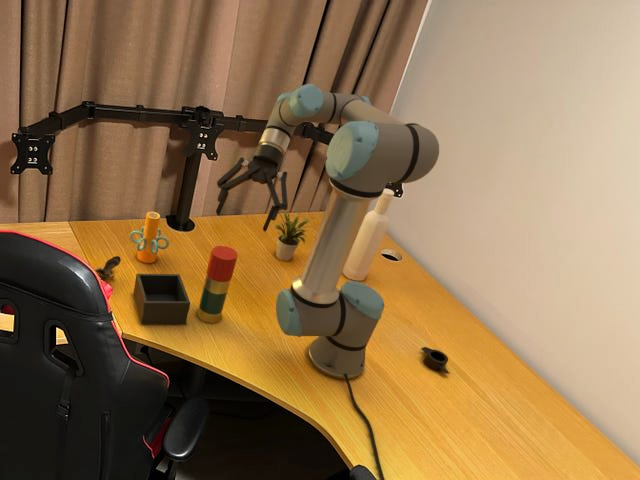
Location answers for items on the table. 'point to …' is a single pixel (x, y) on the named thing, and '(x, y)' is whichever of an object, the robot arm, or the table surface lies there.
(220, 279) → the cap
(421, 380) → the table surface
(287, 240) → the house plant
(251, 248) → the table surface
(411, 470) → the table surface
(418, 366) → the table surface
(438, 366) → the black flanged ring
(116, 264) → the eagle figurine
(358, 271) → the bottle
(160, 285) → the bin
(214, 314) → the spray can
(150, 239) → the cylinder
